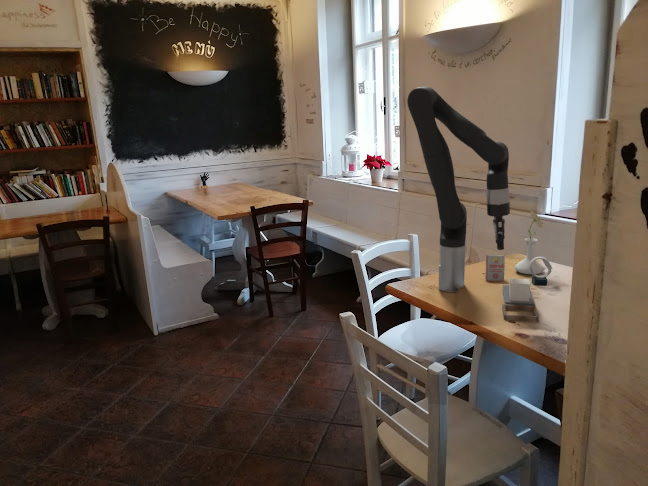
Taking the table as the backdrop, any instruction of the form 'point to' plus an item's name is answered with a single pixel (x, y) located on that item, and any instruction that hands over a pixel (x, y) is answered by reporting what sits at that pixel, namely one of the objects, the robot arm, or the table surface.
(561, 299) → the table surface
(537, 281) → the watch
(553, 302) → the table surface
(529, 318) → the tray
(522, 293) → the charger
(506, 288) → the power strip
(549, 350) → the table surface
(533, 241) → the flower in vase
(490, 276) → the tea box
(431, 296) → the table surface
